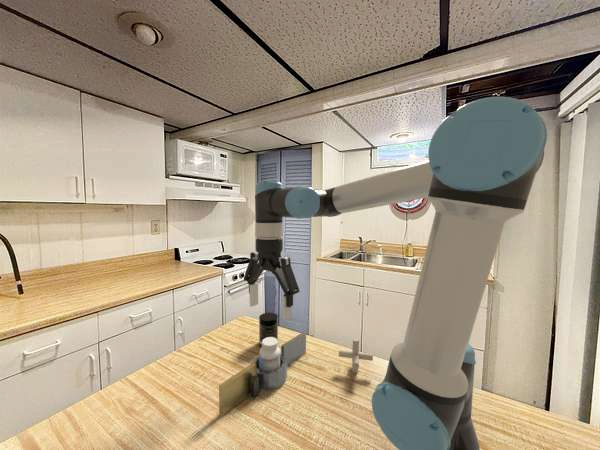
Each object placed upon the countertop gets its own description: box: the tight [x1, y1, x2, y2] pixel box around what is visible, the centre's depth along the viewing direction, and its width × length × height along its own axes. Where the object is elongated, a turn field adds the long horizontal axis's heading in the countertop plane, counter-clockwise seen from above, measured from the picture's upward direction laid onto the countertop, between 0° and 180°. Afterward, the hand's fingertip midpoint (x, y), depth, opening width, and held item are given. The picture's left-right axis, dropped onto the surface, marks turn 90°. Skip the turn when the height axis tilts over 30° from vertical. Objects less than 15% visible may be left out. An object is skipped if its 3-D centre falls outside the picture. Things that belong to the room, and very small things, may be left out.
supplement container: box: [258, 312, 279, 348], centre depth 90 cm, size 7×7×10 cm
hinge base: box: [249, 331, 307, 400], centre depth 76 cm, size 10×25×7 cm, turn 140°
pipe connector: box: [338, 337, 374, 374], centre depth 76 cm, size 10×10×10 cm
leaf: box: [218, 363, 256, 416], centre depth 64 cm, size 1×11×7 cm, turn 143°
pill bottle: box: [258, 337, 281, 372], centre depth 72 cm, size 6×6×11 cm
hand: (269, 311), depth 71 cm, fingers open, 13 cm apart
